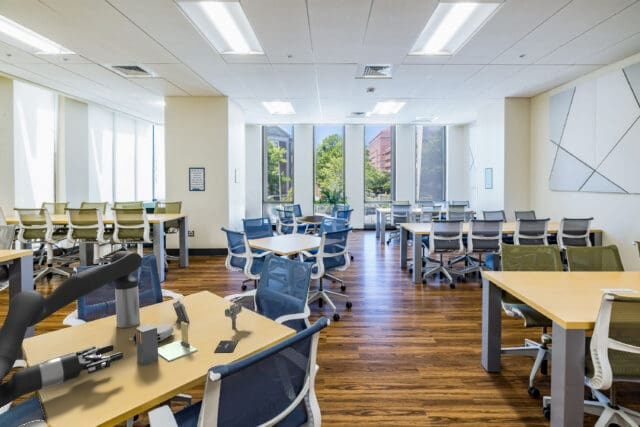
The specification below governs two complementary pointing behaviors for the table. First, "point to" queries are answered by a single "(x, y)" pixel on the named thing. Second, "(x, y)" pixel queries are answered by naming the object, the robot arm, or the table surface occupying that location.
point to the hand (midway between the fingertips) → (117, 351)
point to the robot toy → (161, 332)
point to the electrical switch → (180, 311)
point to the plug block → (147, 344)
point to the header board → (177, 346)
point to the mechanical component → (233, 313)
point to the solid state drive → (226, 346)
